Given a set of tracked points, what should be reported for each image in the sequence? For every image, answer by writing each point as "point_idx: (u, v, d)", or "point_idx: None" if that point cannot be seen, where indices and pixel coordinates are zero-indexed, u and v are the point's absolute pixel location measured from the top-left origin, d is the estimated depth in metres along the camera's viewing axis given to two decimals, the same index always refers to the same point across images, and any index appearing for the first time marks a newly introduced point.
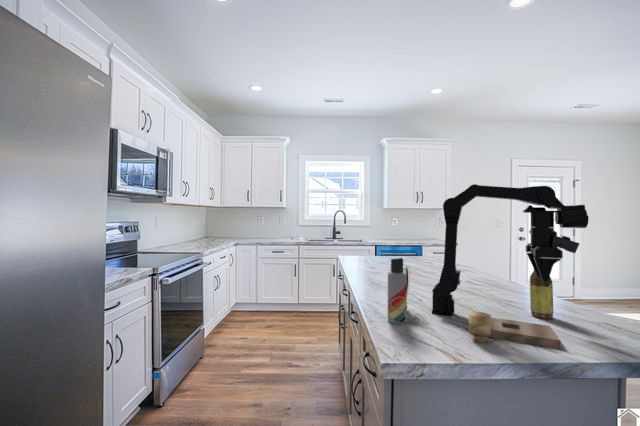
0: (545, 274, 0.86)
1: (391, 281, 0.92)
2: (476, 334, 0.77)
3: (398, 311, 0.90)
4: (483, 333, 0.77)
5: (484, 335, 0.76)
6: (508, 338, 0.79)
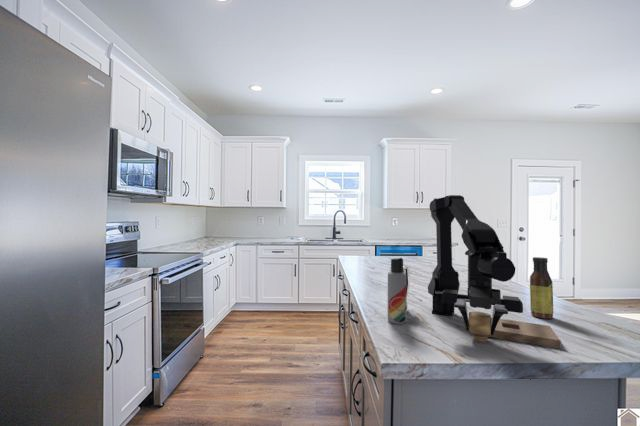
0: None
1: (391, 281, 0.92)
2: (476, 334, 0.77)
3: (398, 311, 0.90)
4: (483, 333, 0.77)
5: (484, 335, 0.76)
6: (508, 338, 0.79)
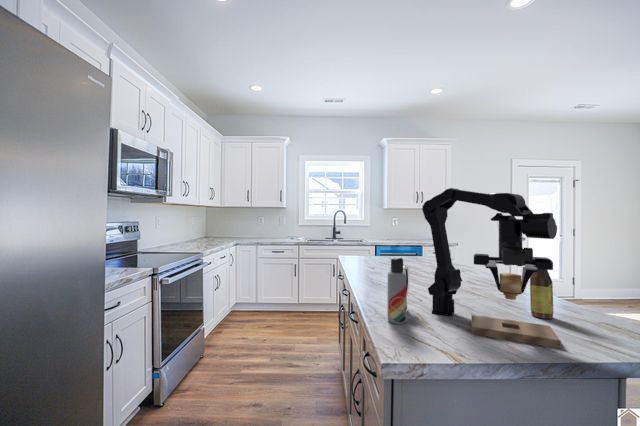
0: None
1: (391, 281, 0.92)
2: (507, 292, 0.83)
3: (398, 311, 0.90)
4: (514, 291, 0.82)
5: (515, 293, 0.82)
6: (508, 338, 0.79)
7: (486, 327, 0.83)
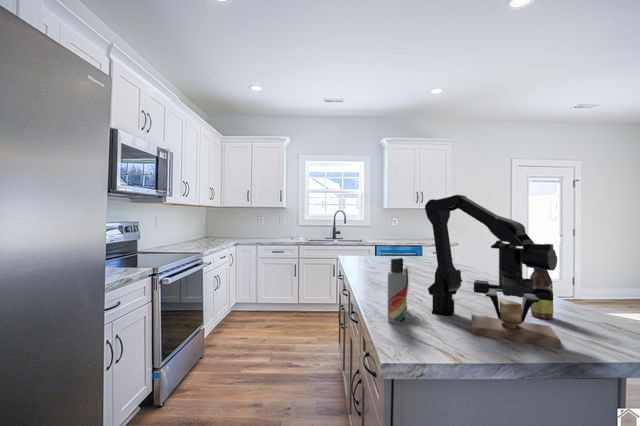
0: None
1: (391, 281, 0.92)
2: (508, 321, 0.82)
3: (398, 311, 0.90)
4: (514, 320, 0.82)
5: (515, 322, 0.82)
6: (508, 338, 0.79)
7: (486, 327, 0.83)
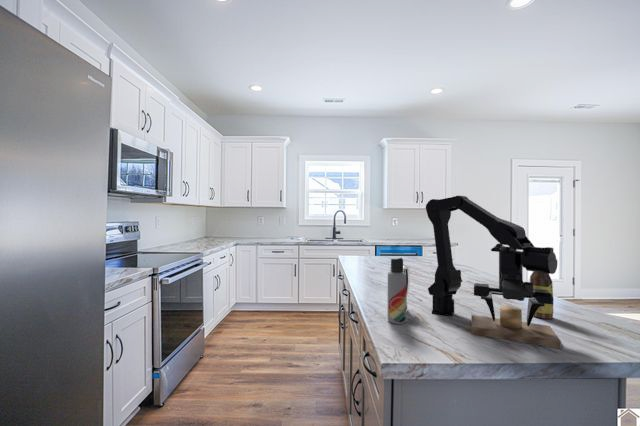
0: None
1: (391, 281, 0.92)
2: (508, 327, 0.82)
3: (398, 311, 0.90)
4: (515, 326, 0.82)
5: (516, 327, 0.82)
6: (508, 338, 0.79)
7: (486, 327, 0.83)
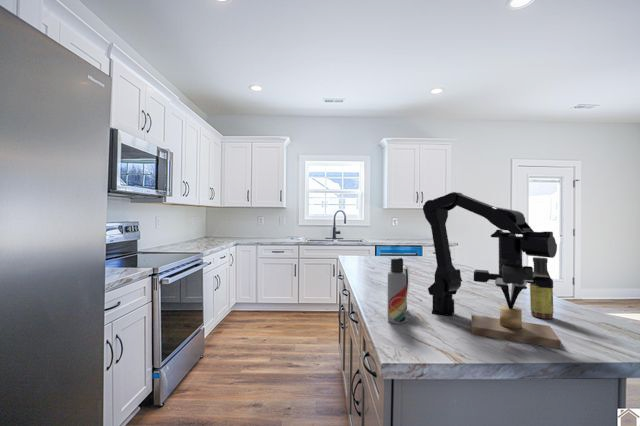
0: (507, 301, 0.85)
1: (391, 281, 0.92)
2: (508, 327, 0.82)
3: (398, 311, 0.90)
4: (515, 326, 0.82)
5: (516, 327, 0.82)
6: (508, 338, 0.79)
7: (486, 327, 0.83)
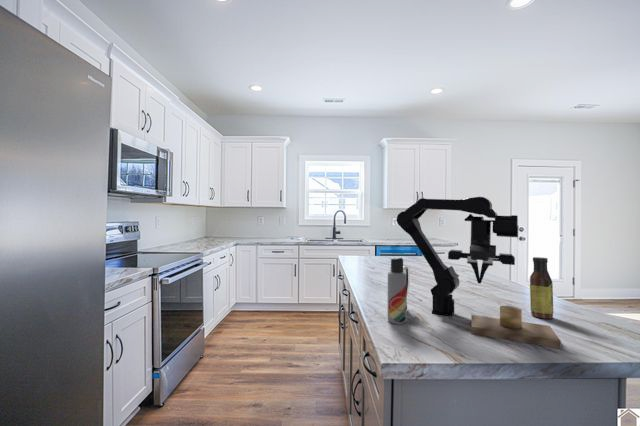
0: None
1: (391, 281, 0.92)
2: (508, 327, 0.82)
3: (398, 311, 0.90)
4: (515, 326, 0.82)
5: (516, 327, 0.82)
6: (508, 338, 0.79)
7: (486, 327, 0.83)
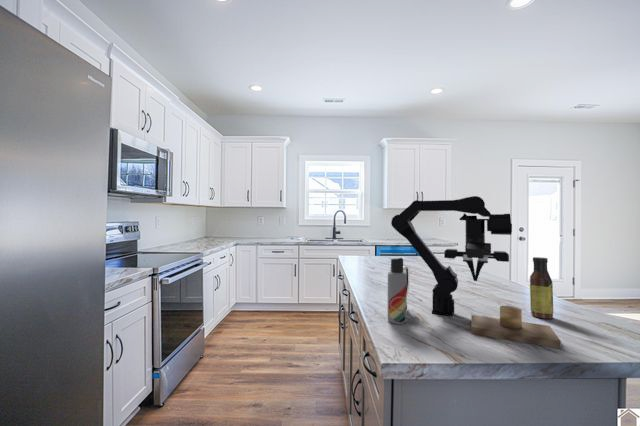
0: None
1: (391, 281, 0.92)
2: (508, 327, 0.82)
3: (398, 311, 0.90)
4: (515, 326, 0.82)
5: (516, 327, 0.82)
6: (508, 338, 0.79)
7: (486, 327, 0.83)
